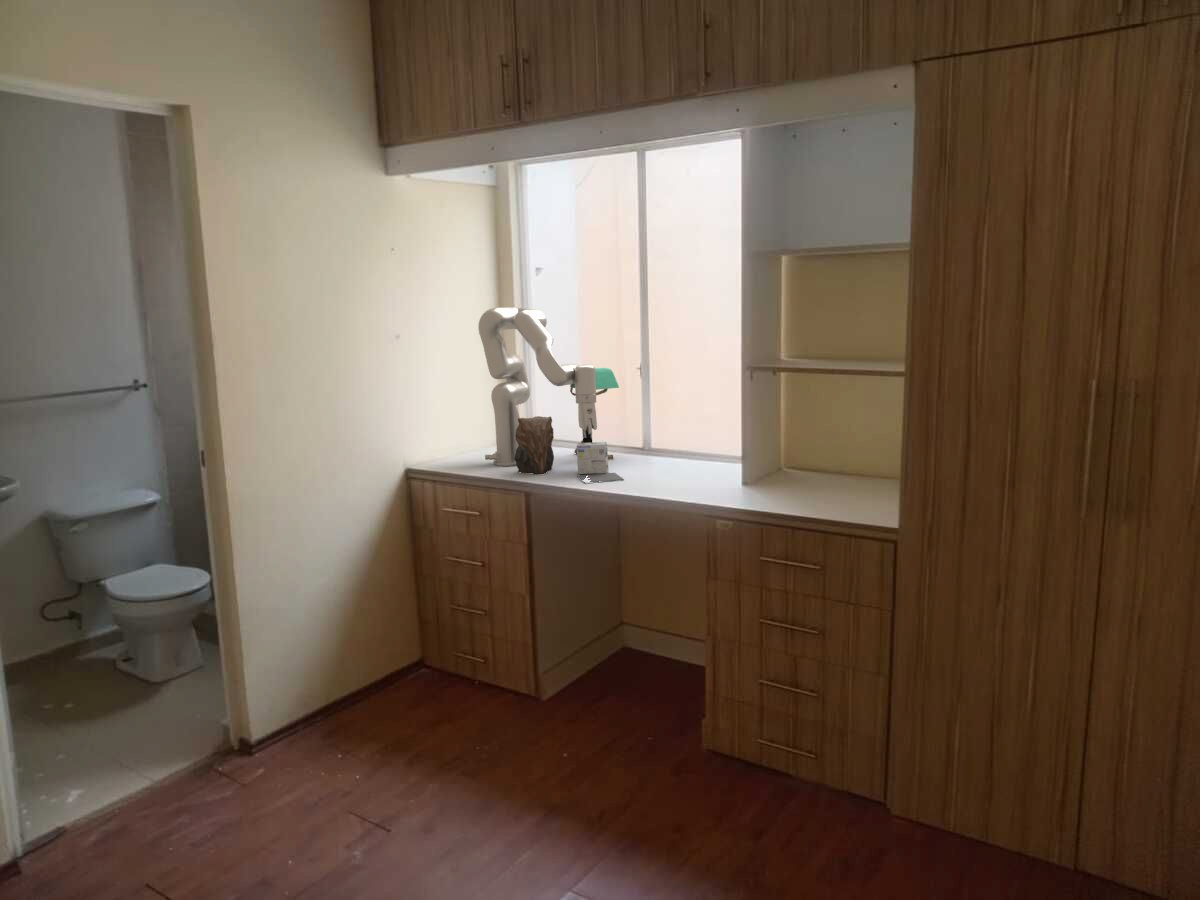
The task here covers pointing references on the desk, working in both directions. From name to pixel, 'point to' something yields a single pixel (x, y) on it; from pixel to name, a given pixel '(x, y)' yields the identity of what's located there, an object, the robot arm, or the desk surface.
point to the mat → (601, 477)
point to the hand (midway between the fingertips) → (587, 447)
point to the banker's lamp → (601, 385)
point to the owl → (534, 445)
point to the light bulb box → (592, 458)
